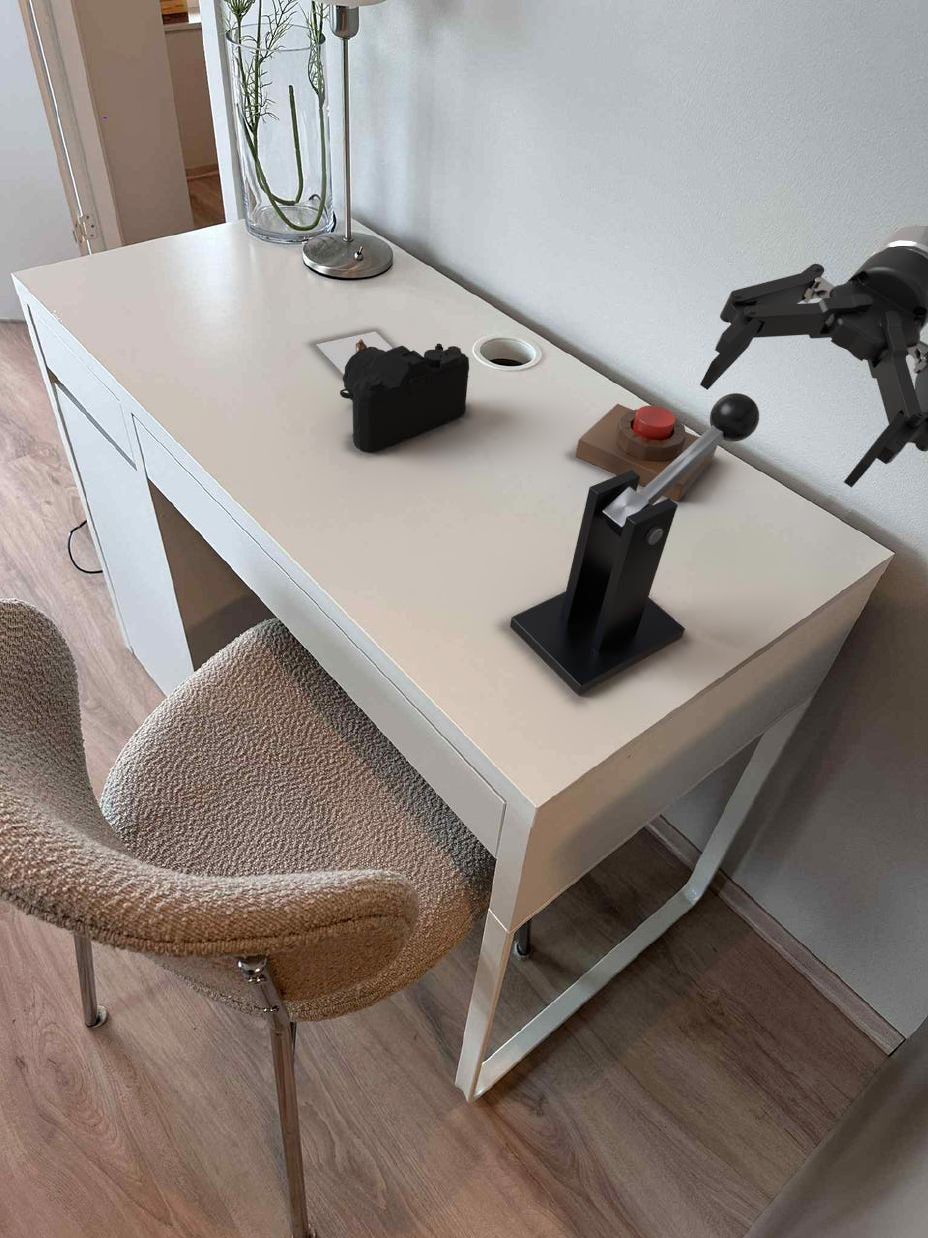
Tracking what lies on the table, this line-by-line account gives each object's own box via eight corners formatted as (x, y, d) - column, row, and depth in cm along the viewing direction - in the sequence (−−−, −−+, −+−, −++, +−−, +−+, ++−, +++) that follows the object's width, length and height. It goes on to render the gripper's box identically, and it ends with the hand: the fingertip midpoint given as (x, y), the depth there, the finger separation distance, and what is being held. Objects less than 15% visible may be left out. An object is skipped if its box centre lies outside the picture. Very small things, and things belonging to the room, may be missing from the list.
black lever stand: (611, 576, 81) (648, 441, 71) (682, 638, 76) (733, 503, 66) (509, 626, 76) (532, 488, 65) (578, 696, 71) (615, 559, 60)
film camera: (422, 376, 103) (426, 302, 96) (476, 416, 98) (483, 341, 91) (310, 416, 95) (306, 339, 89) (363, 461, 90) (362, 383, 84)
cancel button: (677, 429, 93) (681, 414, 91) (661, 446, 90) (665, 431, 89) (642, 414, 94) (646, 400, 93) (626, 431, 92) (629, 416, 90)
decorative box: (375, 331, 109) (375, 317, 108) (407, 362, 105) (407, 347, 103) (315, 344, 106) (315, 329, 104) (345, 377, 101) (345, 362, 100)
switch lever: (735, 404, 70) (732, 375, 67) (770, 427, 68) (768, 398, 65) (603, 525, 69) (593, 501, 66) (635, 552, 67) (626, 528, 64)
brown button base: (711, 461, 95) (722, 429, 92) (677, 501, 90) (688, 469, 87) (613, 420, 99) (620, 388, 97) (574, 456, 94) (581, 424, 91)
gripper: (1000, 394, 78) (894, 544, 70) (764, 246, 83) (638, 369, 75) (1060, 332, 71) (951, 489, 63) (799, 176, 77) (666, 301, 68)
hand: (781, 424), depth 69 cm, fingers open, 13 cm apart
